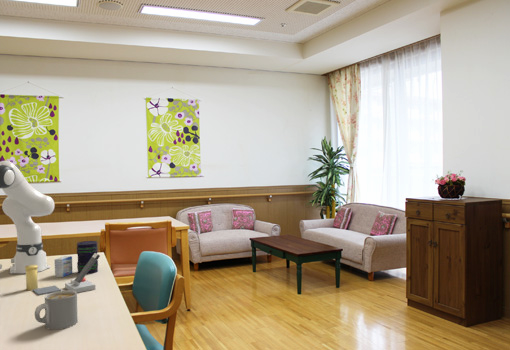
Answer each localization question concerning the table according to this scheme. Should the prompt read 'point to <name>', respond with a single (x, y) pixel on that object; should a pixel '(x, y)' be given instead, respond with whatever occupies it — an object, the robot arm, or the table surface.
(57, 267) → the medicine box
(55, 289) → the pad
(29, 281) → the yellow lidded cup
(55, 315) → the coffee mug
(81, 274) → the toggle
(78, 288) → the panel
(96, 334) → the table surface
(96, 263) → the storage jar
